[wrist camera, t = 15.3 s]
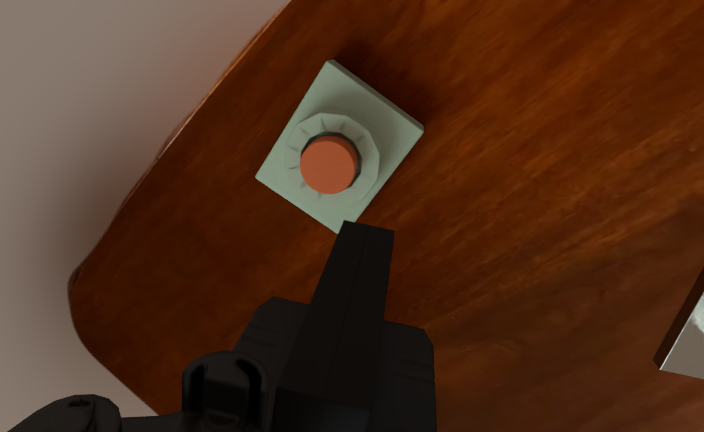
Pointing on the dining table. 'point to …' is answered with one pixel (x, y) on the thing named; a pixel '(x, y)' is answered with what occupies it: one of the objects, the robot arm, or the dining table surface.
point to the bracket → (686, 337)
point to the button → (329, 164)
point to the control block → (354, 126)
